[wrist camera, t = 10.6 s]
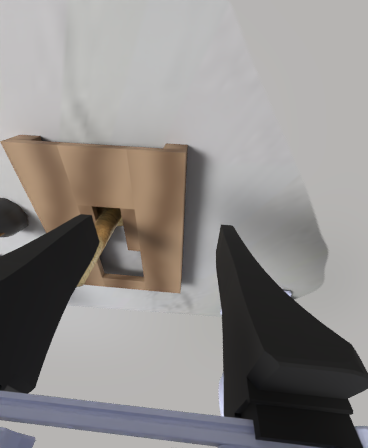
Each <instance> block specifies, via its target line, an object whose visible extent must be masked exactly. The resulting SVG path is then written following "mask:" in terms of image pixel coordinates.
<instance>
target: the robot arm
mask: <svg viewBox="0 0 368 448" xmlns="http://www.w3.org/2000/svg"><path fill="white" fill-rule="evenodd" d="M99 243H100V241H99V238H98V235H97V231H96V228H95V225H94V221H93V218H92V215H86V214H80V215H78V216H76V217H74V218H72V219H71V220H69V221H67V222H65V223H64V224H62V225H60V226H58V227H57V228H55V229H53V230H51V231H50V232H48V233H46V234H44V235H43V236H41V237H39V238H37V239H35V240H33V241H31V242H30V243H28V244H26V245H24V246H22V247H20V248H18V249H16V250H14V251H12V252H10V253H7V254H5V255H3V256H1V257H0V420H5V421H12V422H20V423H29V424H37V425H45V426H54V427H62V428H69V429H78V430H86V431H94V432H102V433H110V434H119V435H127V436H135V437H144V438H151V439H159V440H168V441H176V442H184V443H192V444H201V445H209V446H216V447H218V448H368V426H355V427H354V425H353V423H352V420H351V418H350V416H349V415H351V414H353V410H352V407H351V405H350V403H349V401H348V398H350V397H352V396H354V395H356V394H358V393H360V392H362V391H364V390H366V389H367V388H368V373H367V371H366V369H365V367H364V365H363V363H362V361H361V359H360V358H359V356H358V354H357V353H356V351H355V350H354V348H353V346H352V345H351V344H350V343H349V342H347V341H346V340H345V339H343V338H341V337H340V336H339V335H338V334H336V333H335V332H333V331H332V330H331V329H329V328H328V327H326V326H325V325H324V324H322V323H321V322H320V321H319V320H317V319H316V318H315V317H314V316H312V315H311V314H310V313H308V312H307V311H306V310H305V309H304V308H302V307H301V306H300V305H299V304H298V303H297V302H295V300H293V299H292V298H291V297H290V296H291V295H292V294H291V292H290V291H284V290H282V289H281V288H280V287H279V286H278V285H277V284H276V283H275V281H274V280H273V279H272V278H271V277H270V276H269V275H268V274H267V273H266V272H265V271H264V269H263V268H262V267H261V266H260V264H259V263H258V262H257V261H256V259H255V258H254V257H253V256H252V254H251V253H250V251H249V250H248V249H247V247H246V246H245V244H244V243H243V241H242V240H241V238H240V237H239V235H238V233H237V232H236V230H235V228H234V227H233V226H231V225H221V228H220V233H219V239H218V244H217V249H216V270H217V278H218V285H219V293H220V300H221V311H220V314H221V315H222V328H223V368H224V369H223V371H224V372H223V374H222V377H221V379H220V382H219V405H220V411H221V416H214V415H206V414H197V413H189V412H180V411H172V410H163V409H154V408H145V407H137V406H129V405H120V404H111V403H103V402H93V401H85V400H77V399H68V398H60V397H51V396H43V395H34V394H28V393H29V392H31V391H32V390H33V389H34V388H35V386H36V383H37V380H38V377H39V374H40V371H41V368H42V365H43V362H44V360H45V357H46V354H47V351H48V349H49V346H50V343H51V341H52V338H53V336H54V333H55V331H56V329H57V326H58V323H59V321H60V319H61V317H62V314H63V312H64V310H65V308H66V306H67V304H68V301H69V299H70V297H71V295H72V294H73V292H74V290H75V288H76V287H77V285H78V283H79V282H80V280H81V278H82V276H83V275H84V273H85V271H86V270H87V268H88V266H89V265H90V263H91V261H92V259H93V258H94V255H95V253H96V251H97V248H98V245H99ZM34 442H35V437H32V436H28V435H24V434H21V433H17V432H14V431H11V430H9V429H7V428H3V427H0V448H32V447H33V445H34Z"/></svg>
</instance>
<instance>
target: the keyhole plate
mask: <svg viewBox="0 0 368 448" xmlns="http://www.w3.org/2000/svg"><path fill="white" fill-rule="evenodd" d="M0 142H1V144H2V146H3V148H4V150H5V152H6V154H7V156H8V158H9V160H10V162H11V164H12V166H13V168H14V170H15V172H16V174H17V176H18V178H19V180H20V182H21V184H22V186H23V187H24V189H25V191H26V193H27V195H28V197H29V199H30V201H31V203H32V205H33V207H34V209H35V211H36V213H37V215H38V217H39V219H40V221H41V223H42V225H43V227H44V229H45V231H46V233H48V232H50V231H51V230H53V229H55V228H57V227H58V226H60V225H62V224H64V223H65V222H67V221H69V220H71V219H72V218H74V217H76V216H78V215H80V214H86V215H92V218H93V221H94V223H95V222H96V220H97V219H98V218H99V215H98V212H97V208H96V207H109V208H120V210H121V215H122V221H123V226H124V231H125V236H126V242H127V247H128V250H133V251H140V252H141V259H142V266H143V274H144V277H140V276H129V275H118V274H106V273H104V270H103V267H102V264H101V261H100V258H98V260H97V262H96V264H95V265H94V267H93V269H92V271H91V272H90V274H89V276H88V278H87V279H86V281H85V283H84V285H94V286H105V287H116V288H127V289H138V290H149V291H160V292H171V293H180V290H181V281H182V259H183V237H184V215H185V192H186V170H187V148H188V145H180V144H166V145H165V146H164V148H163V149H162V148H145V147H129V146H113V145H96V144H80V143H63V142H47V141H42V139H41V137H40V136H30V135H18V136H15V137H12V138H9V139H6V140H3V141H0Z"/></svg>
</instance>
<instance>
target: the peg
mask: <svg viewBox="0 0 368 448" xmlns="http://www.w3.org/2000/svg"><path fill="white" fill-rule="evenodd" d="M96 208H97V212H98V215H99V218H98V219H97V220H96V222H95V223H94V225H95V228H96V231H97V235H98V238H99V241H100V243H99V245H98V248H97V251H96V253H95V255H94V258H93V259H92V261H91V263H90V265H89V266H88V268H87V270H86V271H85V273H84V275H83V276H82V278H81V280H80V282H79V283H78V285H77V287H79V286H82V285H84V283H85V281H86V279H87V278H88V276H89V274H90V272H91V271H92V269H93V267H94V265H95V264H96V262H97V260H98V258H99V256H100V255H101V253H102V251H103V249H104V248H105V246H106V244H107V242H108V241H109V239H110V237H111V235H112V233H113V232H114V230H115V228H116V226H123V221H122V215H121V210H120V208H109V207H96Z"/></svg>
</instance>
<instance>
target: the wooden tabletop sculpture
mask: <svg viewBox="0 0 368 448" xmlns="http://www.w3.org/2000/svg"><path fill="white" fill-rule="evenodd" d="M27 225H28V217H27V215H26V214H25V213H24V211H23V210H22V209H21V208H20V207H19V206H18V205H16V204H14V203H13V202H11V201H9V200H7V199H5V198H0V237H9V236H12V235H14V234H16V233H17V232H19V231H20V230H22V229H23V228H25V227H26V226H27Z"/></svg>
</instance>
